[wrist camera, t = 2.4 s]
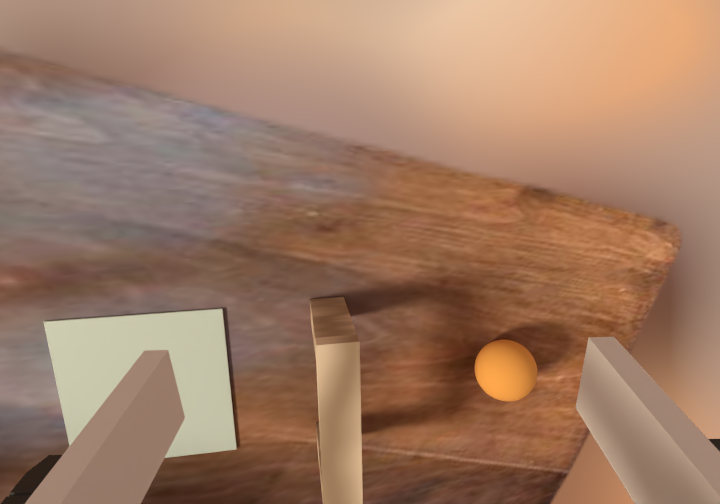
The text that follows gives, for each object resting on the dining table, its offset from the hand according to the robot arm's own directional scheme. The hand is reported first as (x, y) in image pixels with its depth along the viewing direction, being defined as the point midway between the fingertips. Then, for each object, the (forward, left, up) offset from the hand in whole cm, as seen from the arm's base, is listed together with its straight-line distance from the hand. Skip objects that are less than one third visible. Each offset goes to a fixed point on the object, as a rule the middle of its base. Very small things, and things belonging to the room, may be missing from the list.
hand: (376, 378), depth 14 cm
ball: (-13, -16, -22) cm, 30 cm away
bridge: (-13, 0, -25) cm, 28 cm away
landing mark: (-13, +16, -25) cm, 32 cm away
